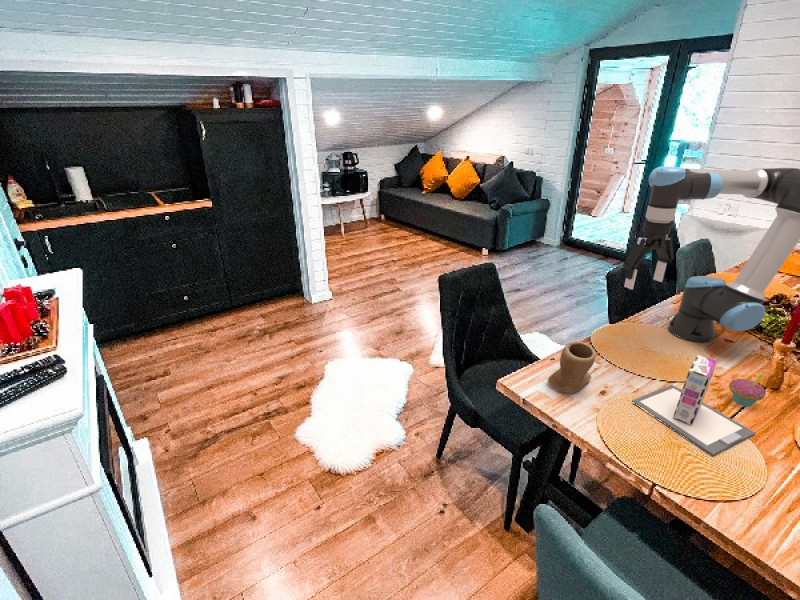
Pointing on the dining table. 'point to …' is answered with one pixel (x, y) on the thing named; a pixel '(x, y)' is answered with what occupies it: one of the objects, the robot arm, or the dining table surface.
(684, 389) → the candy bar box
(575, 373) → the stone cup
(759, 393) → the cupcake
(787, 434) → the dining table surface
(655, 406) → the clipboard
